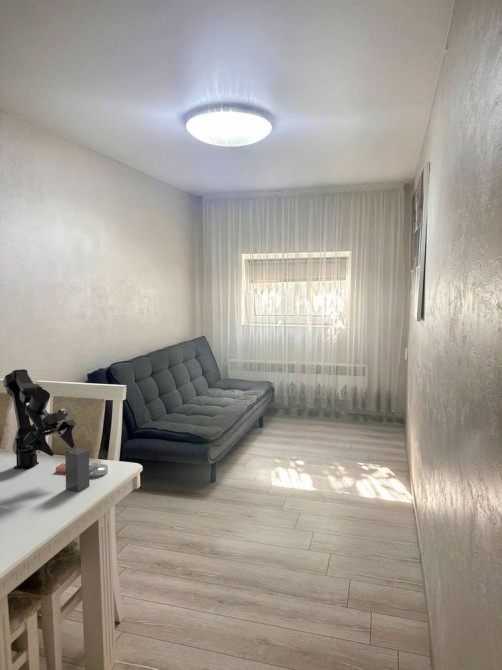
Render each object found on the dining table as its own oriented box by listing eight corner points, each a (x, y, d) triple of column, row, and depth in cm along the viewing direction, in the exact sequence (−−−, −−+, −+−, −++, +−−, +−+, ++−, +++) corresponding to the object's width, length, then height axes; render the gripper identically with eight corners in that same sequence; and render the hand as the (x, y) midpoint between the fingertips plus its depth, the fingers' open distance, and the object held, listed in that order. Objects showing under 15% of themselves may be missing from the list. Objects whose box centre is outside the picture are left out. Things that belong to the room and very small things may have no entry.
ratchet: (111, 469, 168) (111, 458, 167) (101, 478, 160) (101, 466, 159) (65, 466, 170) (65, 455, 170) (52, 474, 162) (52, 462, 162)
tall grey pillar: (65, 489, 150) (65, 452, 149) (77, 483, 155) (77, 447, 154) (77, 492, 148) (77, 454, 147) (89, 486, 153) (89, 450, 152)
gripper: (28, 408, 145) (53, 445, 142) (71, 397, 162) (95, 430, 159) (12, 428, 149) (36, 465, 145) (56, 415, 166) (78, 448, 162)
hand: (63, 451), depth 153 cm, fingers open, 9 cm apart
